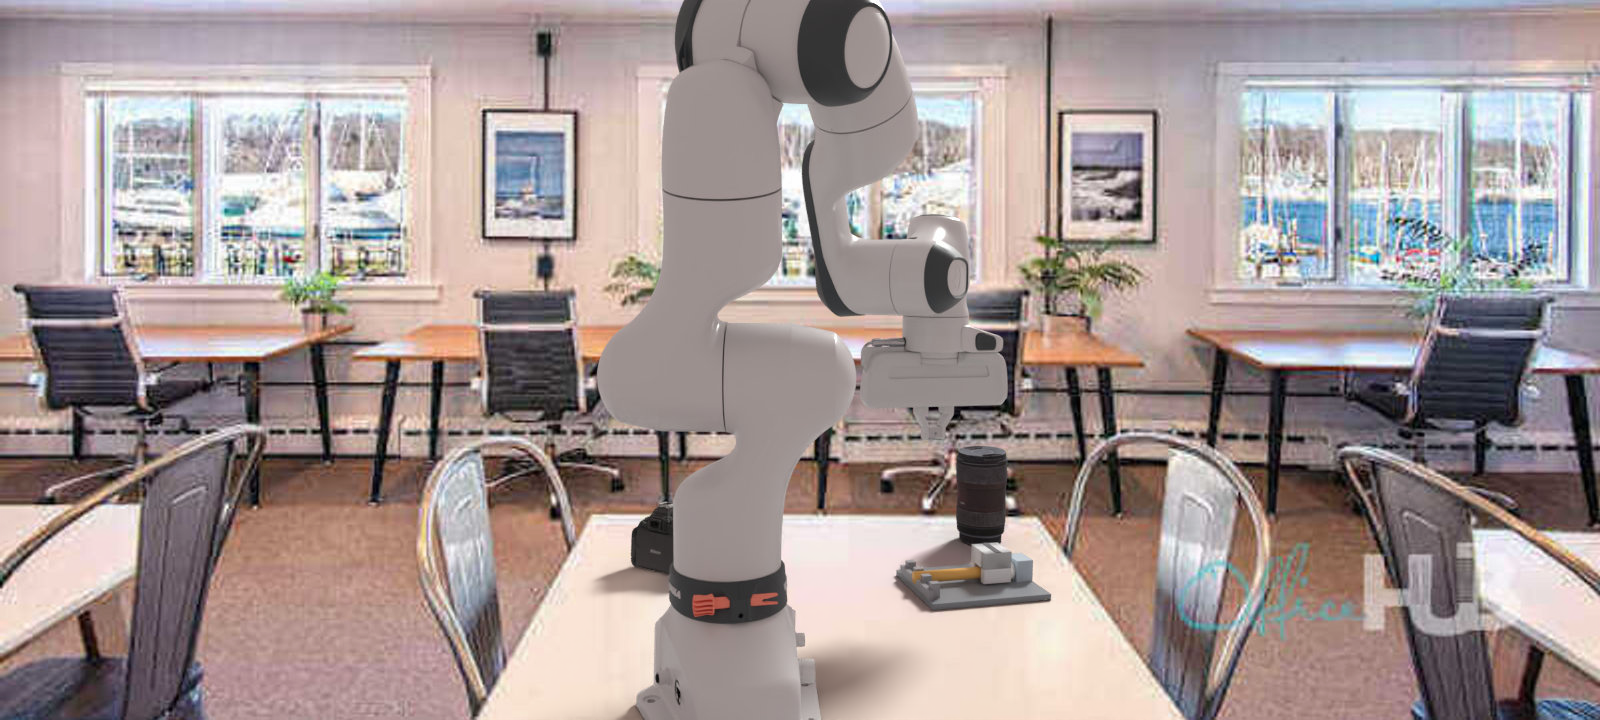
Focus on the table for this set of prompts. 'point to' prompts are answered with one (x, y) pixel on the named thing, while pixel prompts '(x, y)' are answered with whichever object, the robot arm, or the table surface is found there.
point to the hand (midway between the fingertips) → (932, 439)
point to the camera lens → (981, 494)
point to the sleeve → (992, 562)
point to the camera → (654, 540)
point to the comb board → (971, 585)
